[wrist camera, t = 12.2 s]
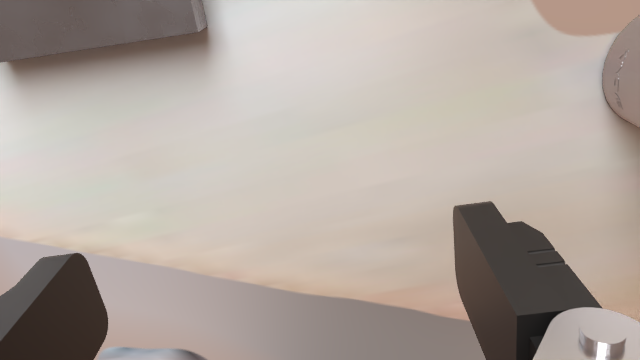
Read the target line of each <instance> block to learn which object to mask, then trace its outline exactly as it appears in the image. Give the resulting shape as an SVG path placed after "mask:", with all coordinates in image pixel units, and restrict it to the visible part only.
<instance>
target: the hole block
mask: <svg viewBox="0 0 640 360" xmlns="http://www.w3.org/2000/svg"><path fill="white" fill-rule="evenodd" d="M206 27H207V23H206V18H205V14H204V9H203V5H202V0H0V62H6V61H12V60H19V59H26V58H32V57H39V56H45V55H52V54H58V53H65V52H72V51H78V50H85V49H91V48H98V47H104V46H111V45H118V44H124V43H131V42H137V41H144V40H150V39H157V38H164V37H170V36H177V35H183V34H190V33H196V32H199V31H201V30H202V29H204V28H206Z"/></svg>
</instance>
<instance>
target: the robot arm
mask: <svg viewBox="0 0 640 360" xmlns="http://www.w3.org/2000/svg"><path fill="white" fill-rule="evenodd" d="M603 89H604V93H605V97H606V100H607V101H608V103H609V105H610V106H611V108H612V109H613V110H614V111H615V112H616V113H617V114H618V115H619V116H620V117H621V118H623V119H625V120H627V121H628V122H630V123H632V124H634V125H636V126H637V127H639V128H640V15H639V16H637V17H636V18H635V19H634V20H633V21H631V22H630V23H629V24H628V25H627V26H626V27H625V29H623V31H622V32H621V33H620V34H619V35H618V37H617V38H616V40H615V41H614V43H613V45H612V46H611V48H610V50H609V53H608V55H607V58H606V60H605V65H604V70H603ZM453 226H454V250H455V271H456V279H457V285H458V289H459V293H460V297H461V299H462V302H463V304H464V307H465V309H466V312H467V314H468V317H469V319H470V321H471V324H472V326H473V329H474V331H475V334H476V336H477V338H478V341H479V343H480V346H481V348H482V351H483V353H484V355H485V358H486V360H640V323H639V322H638V321H636V320H634V319H632V318H631V317H628V316H626V315H624V314H621V313H618V312H615V311H612V310H607V309H603V308H602V307H601V306H600V305H599V303H598V302H597V301H596V300H595V298H594V297H593V296H592V295H591V293H590V292H589V291H588V290H587V288H586V287H585V286H584V285H583V283H582V282H581V281H580V280H579V278H578V277H577V276H576V275H575V273H574V272H573V271H572V270H571V268H570V267H569V266H568V265H567V264H566V265H565V261H564V260H563V258H562V257H561V256H560V255H559V253H558V252H557V251H555V249H554V247H553V246H552V244H551V243H550V242H549V241H548V239H547V238H546V237H545V236H544V234H543V233H541V232H540V231H538V230H536V229H534V228H532V227H531V226H529V225H527V224H525V223H524V222H522V221H521V222H512V223H507V222H506V221H505V219H504V218H503V217H502V215H501V214H500V212H499V211H498V209H497V208H496V207H495V205H494V204H493V203H492V202H491V201H489V202H481V203H474V204H466V205H458V206H455V207H454V210H453ZM107 330H108V317H107V312H106V308H105V306H104V303H103V300H102V298H101V295H100V293H99V290H98V288H97V285H96V282H95V280H94V277H93V275H92V272H91V270H90V267H89V264H88V262H87V260H86V259H85V257H84V256H83V255H82V254H79V253H74V254H66V255H58V256H50V257H43V258H41V259H40V260H39V261H38V262H37V263H36V264H35V265H34V266H33V267H32V268H31V269H30V270H29V272H28V273H27V274H26V275H25V276H24V277H23V278H22V279H21V280H20V282H18V283H17V285H16V286H14V287H13V288H12V289H10V290H9V291H7V292H6V293H4V294H3V295H1V296H0V360H93V359H94V358H95V356H96V354H97V353H98V351H99V349H100V347H101V345H102V344H103V342H104V340H105V337H106V335H107Z"/></svg>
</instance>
